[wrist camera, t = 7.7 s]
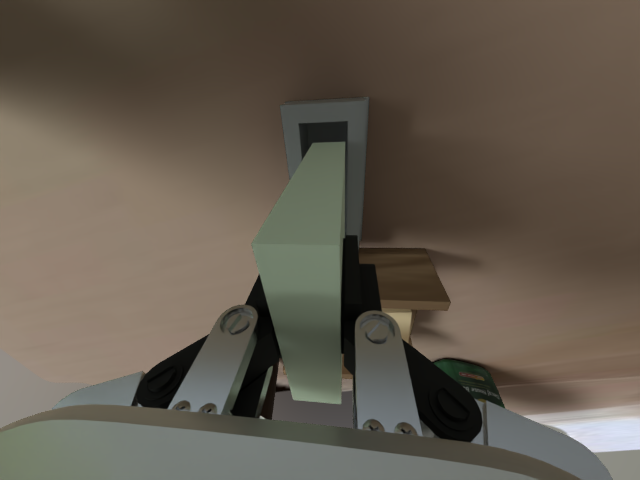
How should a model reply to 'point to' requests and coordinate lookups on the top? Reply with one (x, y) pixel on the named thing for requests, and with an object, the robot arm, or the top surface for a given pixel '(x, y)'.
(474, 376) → the coffee jar
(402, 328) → the offcut top
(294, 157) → the holder
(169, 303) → the top surface
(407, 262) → the rack
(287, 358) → the board
